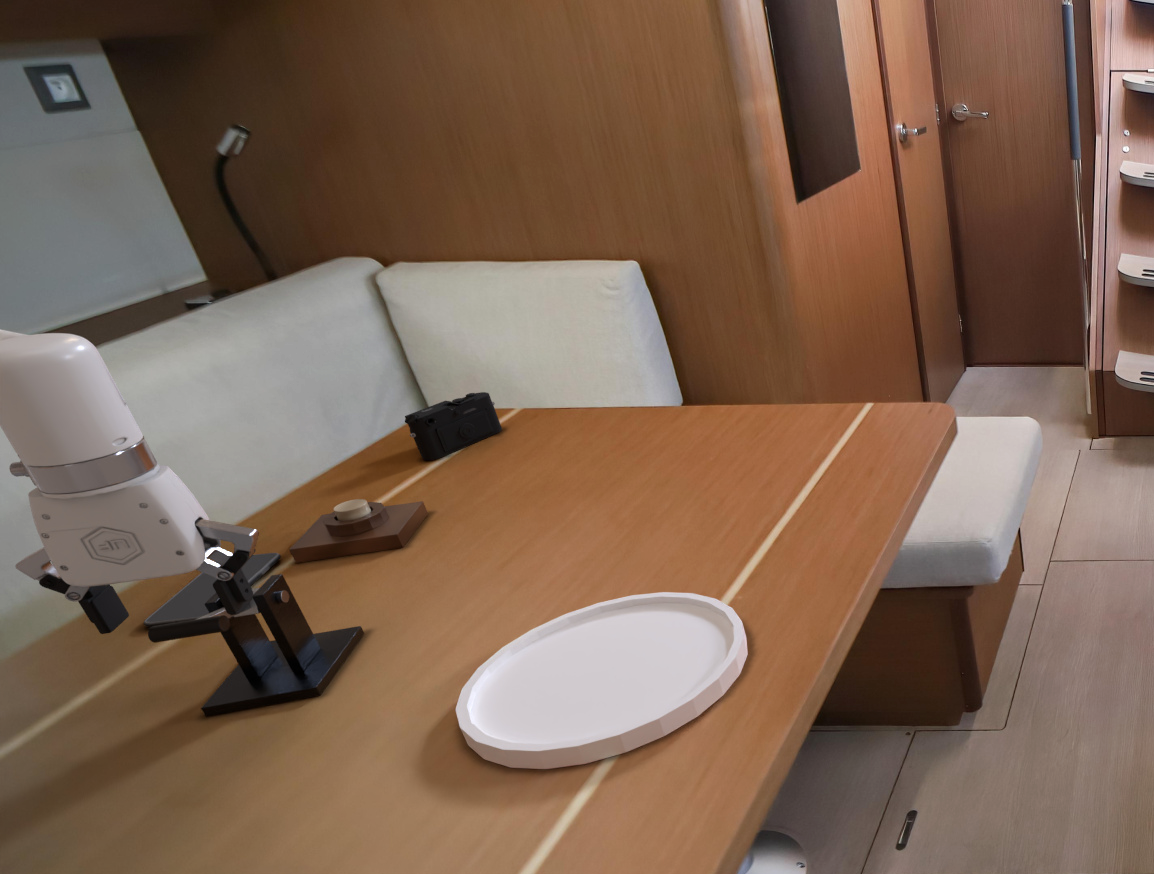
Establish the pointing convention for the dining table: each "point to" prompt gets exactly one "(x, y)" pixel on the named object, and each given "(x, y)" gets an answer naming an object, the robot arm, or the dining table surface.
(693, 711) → the plate
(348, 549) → the button box
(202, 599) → the smartphone
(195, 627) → the lever
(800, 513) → the dining table surface
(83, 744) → the dining table surface
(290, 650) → the bracket
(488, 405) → the camera
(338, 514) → the button
